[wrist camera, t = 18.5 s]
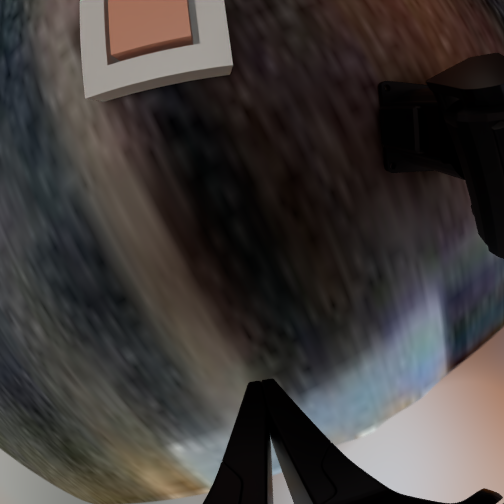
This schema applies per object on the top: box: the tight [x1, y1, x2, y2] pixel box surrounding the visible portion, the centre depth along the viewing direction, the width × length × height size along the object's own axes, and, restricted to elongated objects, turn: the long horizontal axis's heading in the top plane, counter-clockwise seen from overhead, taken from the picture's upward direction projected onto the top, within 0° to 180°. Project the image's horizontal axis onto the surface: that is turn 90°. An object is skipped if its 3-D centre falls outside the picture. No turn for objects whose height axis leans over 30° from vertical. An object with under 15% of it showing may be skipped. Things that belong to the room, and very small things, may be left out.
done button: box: [108, 0, 194, 61], centre depth 12 cm, size 4×4×2 cm
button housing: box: [80, 0, 233, 102], centre depth 13 cm, size 8×8×3 cm
